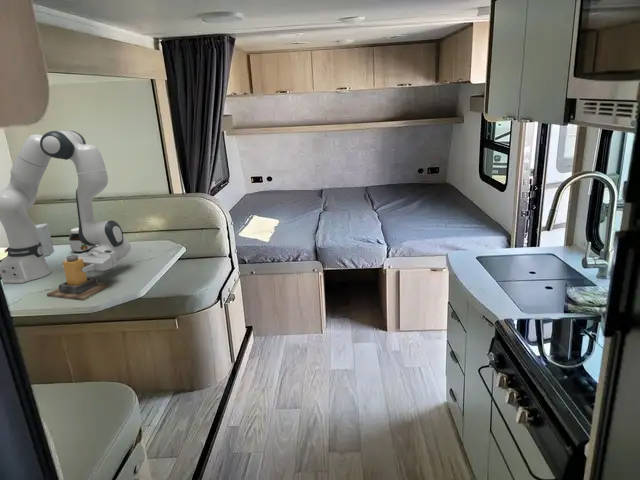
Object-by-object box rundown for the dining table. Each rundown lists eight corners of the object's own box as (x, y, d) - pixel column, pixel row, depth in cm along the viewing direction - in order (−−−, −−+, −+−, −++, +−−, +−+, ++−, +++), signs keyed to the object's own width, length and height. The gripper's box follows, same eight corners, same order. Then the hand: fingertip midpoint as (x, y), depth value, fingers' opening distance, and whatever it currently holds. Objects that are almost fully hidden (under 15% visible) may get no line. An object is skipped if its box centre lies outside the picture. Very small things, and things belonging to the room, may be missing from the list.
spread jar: (71, 254, 230) (66, 232, 227) (73, 248, 240) (68, 226, 237) (97, 251, 234) (93, 228, 231) (98, 244, 244) (94, 223, 241)
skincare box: (49, 256, 230) (42, 227, 225) (35, 257, 229) (29, 228, 224) (54, 250, 238) (48, 222, 233) (41, 252, 236) (35, 224, 232)
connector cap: (68, 290, 183) (61, 258, 179) (78, 285, 188) (72, 254, 184) (78, 291, 182) (71, 259, 178) (88, 286, 186) (82, 255, 182)
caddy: (47, 296, 182) (45, 286, 180) (75, 282, 194) (73, 273, 193) (83, 300, 176) (81, 290, 175) (110, 286, 189) (108, 277, 188)
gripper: (77, 249, 196) (50, 260, 184) (117, 252, 190) (91, 263, 178) (80, 263, 198) (53, 274, 186) (120, 266, 192) (95, 279, 179)
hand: (72, 269), depth 182 cm, fingers open, 8 cm apart
